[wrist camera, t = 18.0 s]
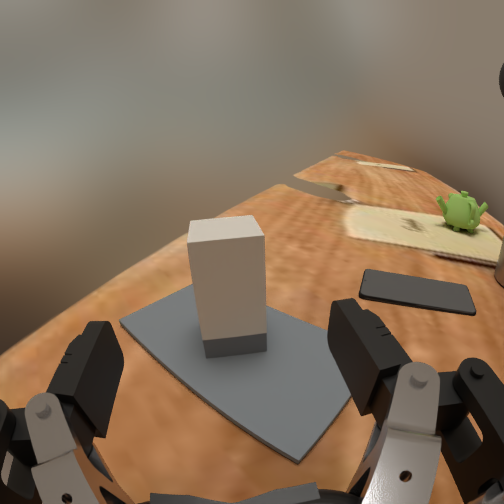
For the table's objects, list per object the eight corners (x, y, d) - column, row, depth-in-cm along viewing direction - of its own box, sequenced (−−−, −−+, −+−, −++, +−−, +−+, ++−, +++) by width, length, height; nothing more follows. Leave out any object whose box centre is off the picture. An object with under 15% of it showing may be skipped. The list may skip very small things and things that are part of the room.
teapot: (474, 240, 44) (480, 200, 40) (429, 225, 53) (434, 187, 50) (485, 231, 49) (490, 196, 46) (446, 217, 58) (450, 184, 55)
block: (264, 235, 18) (266, 351, 22) (252, 215, 23) (256, 316, 27) (186, 242, 18) (206, 358, 22) (190, 220, 22) (204, 322, 26)
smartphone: (477, 313, 23) (358, 293, 30) (475, 319, 24) (357, 300, 30) (467, 284, 29) (364, 267, 35) (465, 290, 29) (363, 273, 36)
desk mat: (377, 355, 21) (379, 350, 21) (298, 464, 13) (298, 460, 13) (204, 282, 35) (204, 277, 35) (120, 324, 27) (118, 319, 27)
